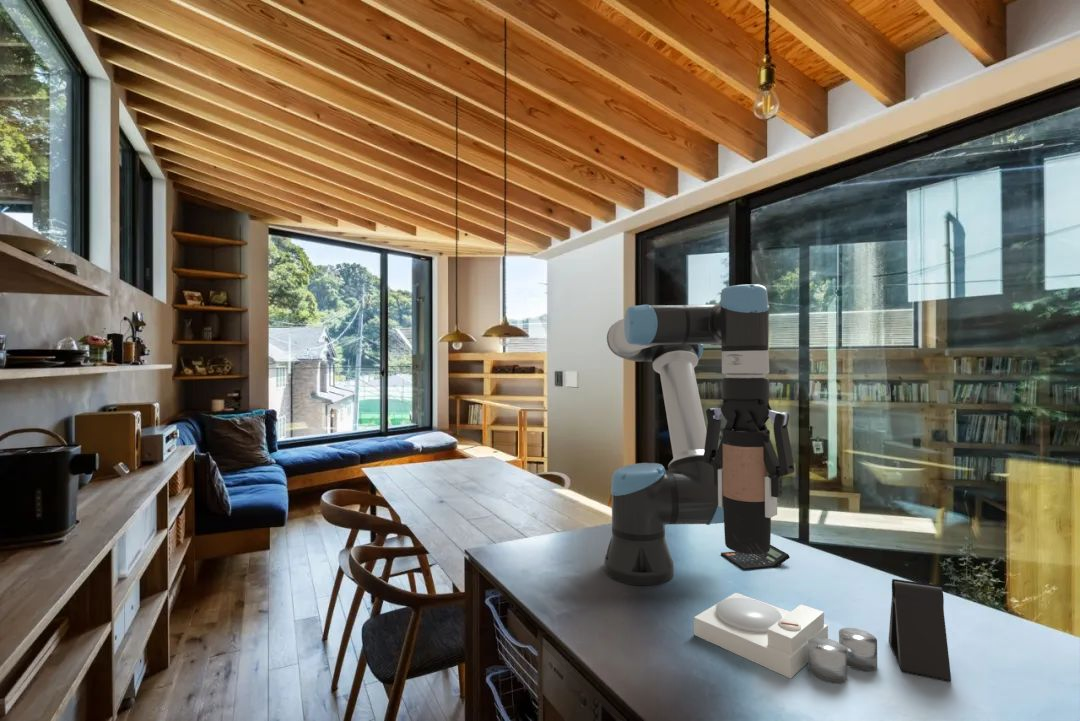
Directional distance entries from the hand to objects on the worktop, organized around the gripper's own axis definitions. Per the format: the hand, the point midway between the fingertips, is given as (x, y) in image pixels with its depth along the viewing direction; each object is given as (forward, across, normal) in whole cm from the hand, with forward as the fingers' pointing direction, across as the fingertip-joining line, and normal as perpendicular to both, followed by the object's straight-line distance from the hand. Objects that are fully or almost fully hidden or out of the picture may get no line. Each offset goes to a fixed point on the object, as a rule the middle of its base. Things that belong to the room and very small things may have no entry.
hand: (746, 510), depth 87 cm
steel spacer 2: (+21, +15, +5) cm, 26 cm away
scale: (+21, +2, 0) cm, 21 cm away
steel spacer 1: (+21, +13, -1) cm, 25 cm away
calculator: (+22, -15, +32) cm, 42 cm away
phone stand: (+21, +21, +12) cm, 32 cm away
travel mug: (+6, 0, 0) cm, 6 cm away
